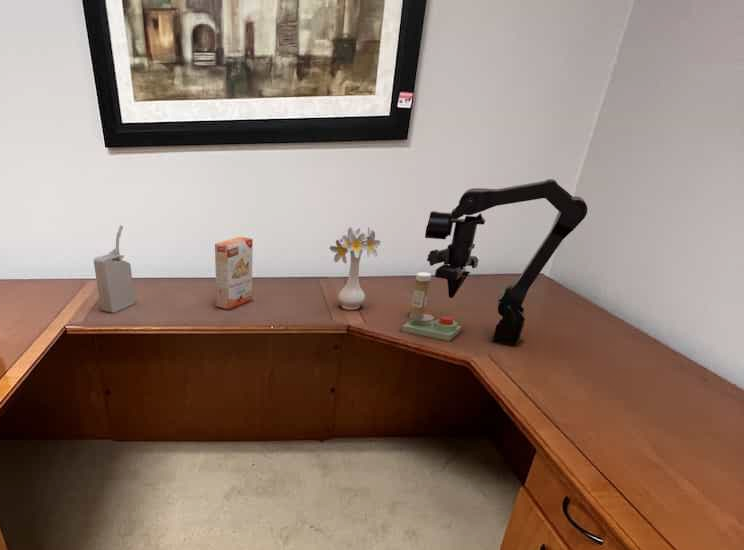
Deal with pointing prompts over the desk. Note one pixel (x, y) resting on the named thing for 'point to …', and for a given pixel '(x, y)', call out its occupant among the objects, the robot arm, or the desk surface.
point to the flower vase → (354, 264)
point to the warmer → (432, 329)
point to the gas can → (114, 280)
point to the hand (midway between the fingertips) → (451, 297)
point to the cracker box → (233, 272)
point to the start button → (446, 320)
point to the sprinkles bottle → (420, 292)
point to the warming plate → (421, 317)
